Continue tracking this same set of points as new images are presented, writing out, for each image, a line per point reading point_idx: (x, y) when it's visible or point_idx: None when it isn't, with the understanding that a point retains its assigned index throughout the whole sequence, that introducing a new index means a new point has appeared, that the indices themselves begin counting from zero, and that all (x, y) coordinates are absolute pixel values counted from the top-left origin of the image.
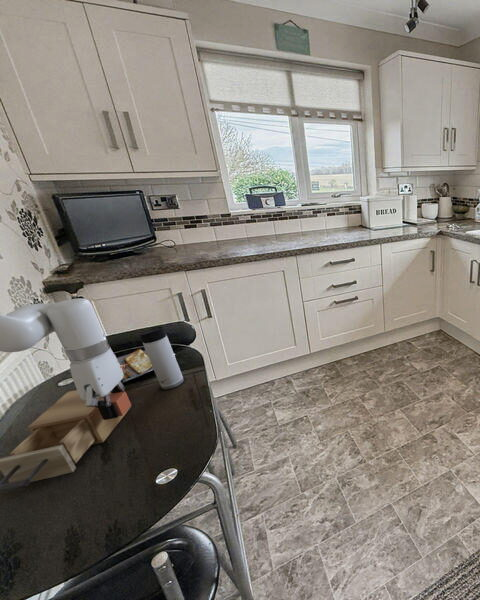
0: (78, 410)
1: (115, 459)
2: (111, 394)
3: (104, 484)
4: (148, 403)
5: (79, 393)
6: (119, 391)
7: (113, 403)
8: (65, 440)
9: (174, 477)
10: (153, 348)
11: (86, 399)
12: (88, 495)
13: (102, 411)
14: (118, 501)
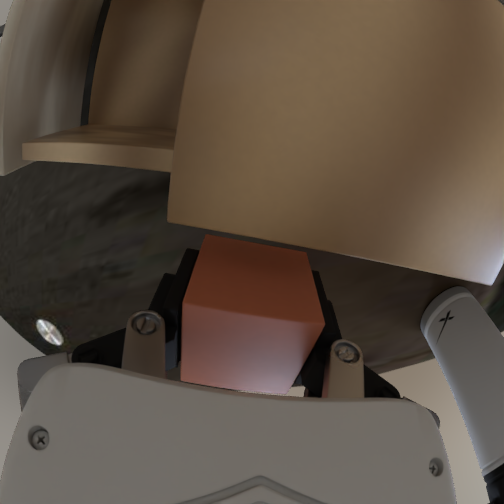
0: (290, 118)
1: (99, 236)
2: (301, 351)
3: (34, 237)
4: (392, 266)
5: (14, 436)
6: (302, 380)
7: (175, 366)
8: (34, 158)
9: (47, 340)
10: (489, 446)
11: (22, 407)
12: (17, 215)
13: (153, 305)
14: (9, 273)
